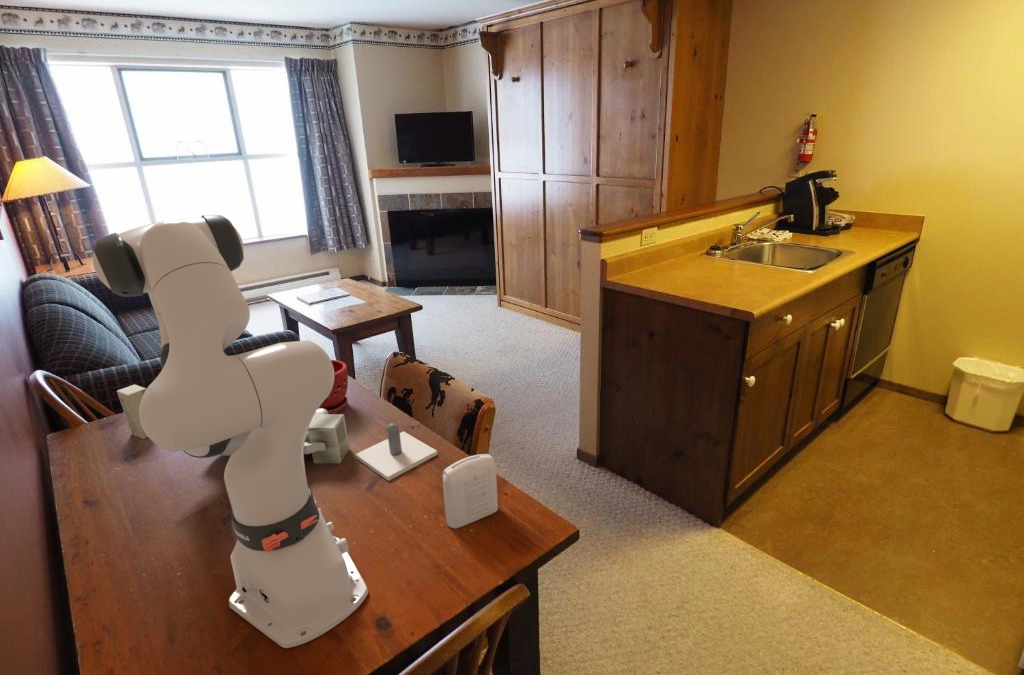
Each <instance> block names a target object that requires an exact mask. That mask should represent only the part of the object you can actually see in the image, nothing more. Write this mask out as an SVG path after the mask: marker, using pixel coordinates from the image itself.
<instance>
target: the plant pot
mask: <svg viewBox="0 0 1024 675" xmlns="http://www.w3.org/2000/svg"><path fill="white" fill-rule="evenodd" d="M330 360H331V362H332V364H333V368H334V384H333V387H332V390H331V392H330V394H329V396H328V397H327V398H326V399H325V400H324V401H323V403H322V404H321V405H320V406H319V408H324V409H326V410H327V411H328V414H338V413H339V412H341V411H342V410H343V409H344V408H346V406H347V404H348V401H349V400H348V397H347V396H346V395H347V392H348V387H349V386H348V385H349V378H348V377H349V375H348V374H349V373H348V367H347V364H346V363H345V362H343V361H340V360H336V359H330Z"/></svg>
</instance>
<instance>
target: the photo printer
mask: <svg viewBox="0 0 1024 675" xmlns="http://www.w3.org/2000/svg"><path fill="white" fill-rule="evenodd" d="M496 465H497V464H496V462H495V459H494V458H493V456H491V454H489V453H483V454H482V453H479V454H475V455H470V456H467V457H465V458H462V459H460V460H457V461H455V462H454V463H452V464H450V465H449V466H447V467H445V469H444V470H443V471H442V477H441V479H442V488H443V498H444V499H443V500H444V510H445V517H446V524H447V526H448V527H450V528H451V529H458V528H462V527H465V526H468V525H469V524H472V523H474V522H477V521H478V520H480V519H483V518H485V517H488V516H491V515H493V514H495V513H496V512H497V511H498V510H499V501H498V500H499V499H498V484H497V467H496Z"/></svg>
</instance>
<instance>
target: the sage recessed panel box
mask: <svg viewBox="0 0 1024 675" xmlns="http://www.w3.org/2000/svg"><path fill="white" fill-rule="evenodd" d="M346 425H347V424H346V419H345V414H341V413H340V414H339V413H335V414H318V415H317V416H316V418H315V419H314V420H313V421H312V422H311V424H310V425H309V428H308V436H309V441H310V443H315V442H318V440H322V441H323V440H325V441H326V442H327V447H326V449H325V450H324V451H316V452H313V453H311V455H312V460H313V463H314V464H341V463H342V461H343V460H344V458H345V457H346V456H347V454H348V452H349V450H350V449H351V448H350V447H351V446H350V442H349V441H350V440H349V436H348V430H347V426H346Z"/></svg>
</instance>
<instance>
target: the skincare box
mask: <svg viewBox="0 0 1024 675" xmlns="http://www.w3.org/2000/svg"><path fill="white" fill-rule="evenodd" d="M146 389H147V388H146V387H143V386H140V385H137V384H132V385H129V386H127V387H123V388H120V389H118V390H116V392H117V396H118V400H119V401H120V405H121V407H122V410H123V413H124V416H125V419H126V422H127V423H128V427H129V430H130V433H131V435H133V436H135V437H137V438H140V439H142V440H144V439H147V438H149V437H148V436H147V435H146V433H145V432H144V430H143V428H142V425H141V422H140V417H139V408H140V403H141V399H142V397H143V394H144V393H145V391H146Z"/></svg>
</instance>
